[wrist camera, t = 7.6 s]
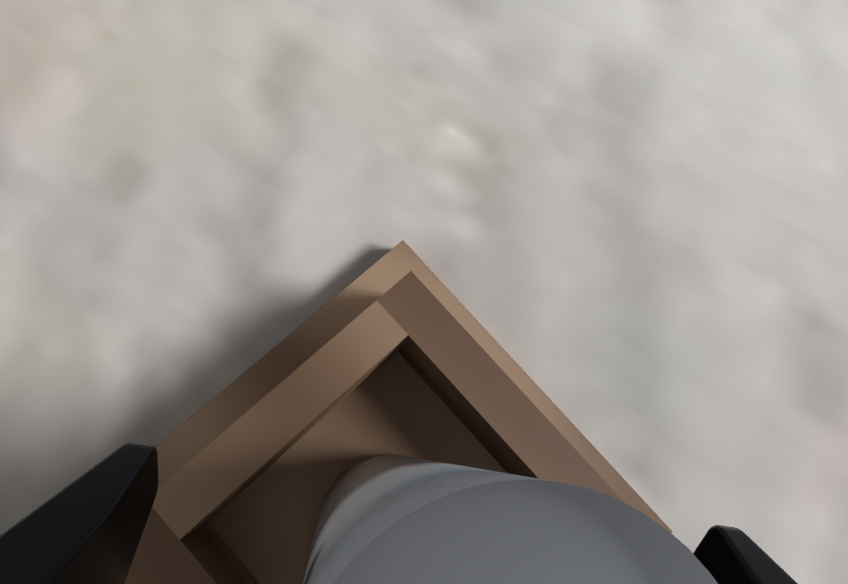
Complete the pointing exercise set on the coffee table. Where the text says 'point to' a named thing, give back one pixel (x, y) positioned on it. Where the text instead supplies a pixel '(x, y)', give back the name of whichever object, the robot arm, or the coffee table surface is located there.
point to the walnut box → (350, 429)
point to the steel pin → (485, 531)
